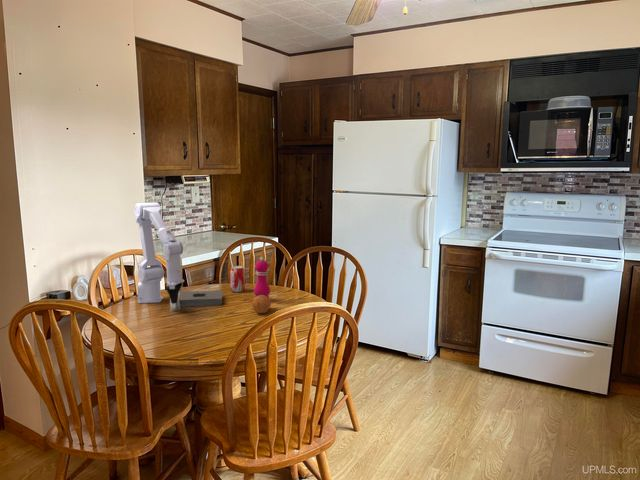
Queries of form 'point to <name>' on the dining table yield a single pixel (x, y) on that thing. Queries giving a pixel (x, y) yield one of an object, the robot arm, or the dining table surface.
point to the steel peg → (175, 304)
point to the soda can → (237, 278)
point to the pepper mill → (262, 278)
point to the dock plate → (201, 298)
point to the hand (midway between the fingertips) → (175, 301)
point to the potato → (261, 304)
